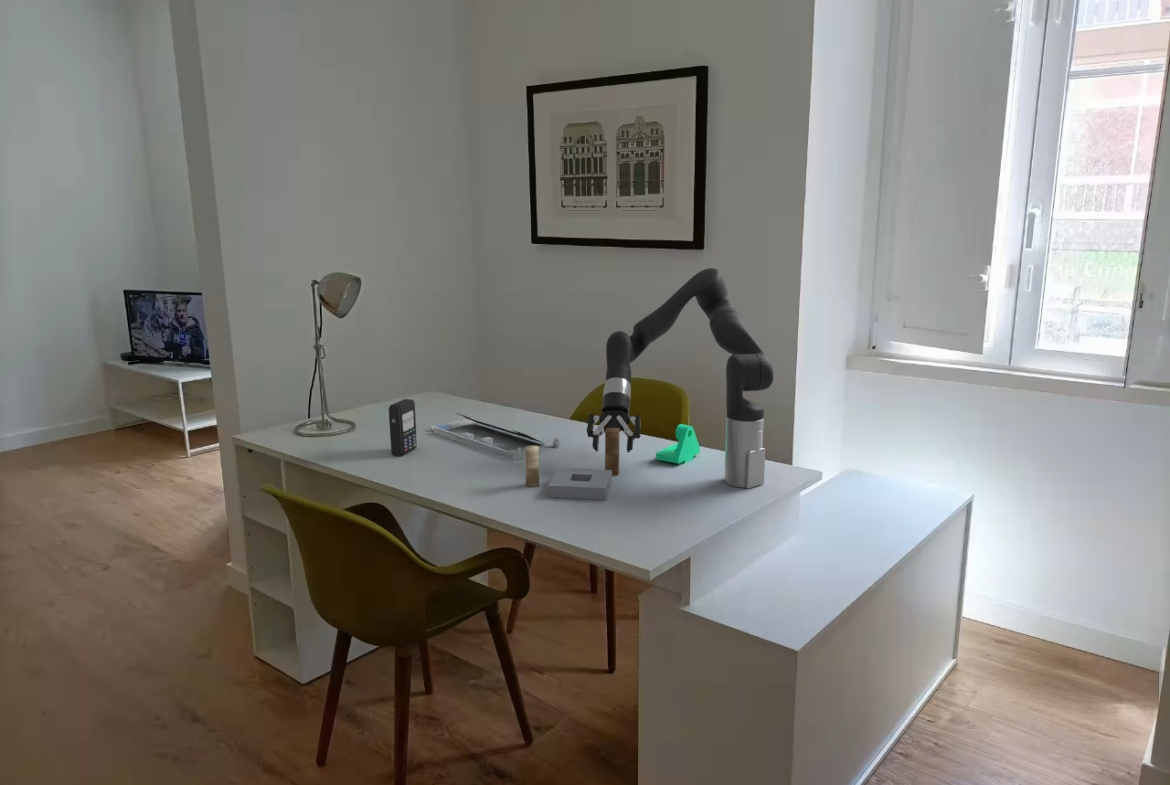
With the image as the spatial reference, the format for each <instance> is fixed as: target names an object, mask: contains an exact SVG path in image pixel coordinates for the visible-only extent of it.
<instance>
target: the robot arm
mask: <svg viewBox="0 0 1170 785" xmlns="http://www.w3.org/2000/svg"><path fill="white" fill-rule="evenodd" d="M694 297H695V299H696V302H697V305H699V307H700V309H701V310H702V311H703V312H704V314H705V315H706V317H707V318H708V320H709V328H710V331H711V333H712V336H713V337H714V340H715V342H716V344H717V345H718V346H719V347H721V348H720V349H723V350H724V351H725V352H727V353H729V354H731V355H730V356H729V357H728V358H727V362H726V367H725V378H726V379H725V382H726V383H725V384H726V388H725V389H726V397H725V398H726V418H725V419H726V420H725V421H726V422H725V423H726V424H725V425H726V426H725V448H724V449H725V450H724V451H725V453H724V481H723V482H724V483H726V484H727V485H729V486H731V487H736V488H737V487H738V488H744V489H751V488H755V487H758V486H761V485H764V483H765V470H766V469H765V468H766V464H765V463H766V448H765V447H763V438H764V422H765V420H764V418H765V417H764V416H765V408H764V407H763V406H762V405H761V404H760V403H757V402H753V401H751V400H748V399H746V398H744V394H743V392H756V391H757V392H758V391H765V390H767V389H769V388H770V387H771V386H772V384H773V382H774V381H773V380H774V369H773V366H772V362H771V360H770V358H769V356H768V354H767V353H766V352H765V351H764V350H763V348H762V347H761V346H760V345H759V343H758V342H757V341H756V339H755V337H754V335H752V332H751V330H750V327H748V324H747V322H746V320H745V319H744V317H743V315H742V314H741V313H740V312H739V310H737V309H736V308H734V307H733V306H732V303H731V299H730V296H729V291H728V289H727V286H726V283H725V281H724V278H723V276H722V273H721V272H720V270H718V269H716V268H712V267H710V268H709V267H708V268H705V269H703V270H700V271H699V272H697V273H696V274H695V275H693V276H692V277H691V278H689V279H688V281H687V282H685V283H684V284H683V285H682V286H681V287H680V288H679V289H677V290H676V291H675V292H674V293H673V294H672V296H670V297H669V298H668V299H667V300H666V301H665V302H664V303H663V304H662V305H661V306H659V307H658V308H656V309H655V310H654V311H652V312H651V313H649V314H648V315H646V316H645V317H644V318H642V319H641V320H639V321H638V322H637V323H635V324H634V325H633V329H632V330H633V331H632V333H631V335H630V334H628V333H626V332H625V331H623V330H617V331H614V332H612V333H611V334H610V335H609V337H608V339H607V341H606V348H605V349H606V350H605V351H606V353H605V354H606V356H605V357H606V373H605V374H606V375H605V381H604V388H603V393H602V405H601V413H600V415H594V413H589V416H588V422H587V427H586V433H587V434H586V435H587V437H588V438H592V449H593V450H594V451H595V452H598V451H599V444H600V437H601V436H602V435H605V430H606V428H619V433H621V432H622V433H624V435H625V436H626V437H627V442H626V452H627V453H630V452H631V451H633V448H634V447H633V446H634V441H635V439H640V438H641V417H640V416H641V415H640V414H636V415H635V416H630V409H631V408H630V407H631V397H632V396H631V395H632V394H631V393H632V390H631V389H632V388H631V383H632V369H631V365H630V364H631V363H632V362H634V361H635V360H637V358H638V357H639V356H640V355H641V354H642V353H643V352H644V351H645V350H646V349H647V348H648V346H649V345H650V344H651V343H653V342H654V341H656V340H657V339H659V338H661V337H662V336H663V335H665V334H666V333H667V332H669V330H671V328H672V327H673V326H674V324H676V323H675V322H676V321H677V319H678V318H679V316H680V314H681V313H682V311H683V310H684V308H685V306H686V305H687V304H688V303H689V302H690V300H692V299H693V298H694ZM598 421H599V422H600V423H599V425H598V427H597V428H596V429H595V430H594V427H595V425H596V424H597V422H598ZM630 422H631V423H632V425H634V426H635V431H634V432H633V431H632V430H631V429H630V427H629V425H630Z"/></svg>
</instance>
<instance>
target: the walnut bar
mask: <svg viewBox="0 0 1170 785" xmlns="http://www.w3.org/2000/svg"><path fill="white" fill-rule="evenodd" d="M604 439H605V440H604V441H605V442H604V448H605V449H604V451H605V452H604V453H605V454H604V455H605V456H604V458H605V459H604V470H612V476H619V473H620V432H619V428H606V430H605V433H604Z"/></svg>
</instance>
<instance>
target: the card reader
mask: <svg viewBox="0 0 1170 785" xmlns="http://www.w3.org/2000/svg"><path fill="white" fill-rule="evenodd" d="M388 422H389V423H388V424H389V435H390V450H391V455H393V457H403V456H405V455H407V454H408V453H410V452H413V451H414V450H415V449H416V448H417V445H418V444H417V442H418V441H417V425H416V424H417V420H416V403H415V400H414V399H412V398H411V399H409V398H404V399H402V400H400V401H397V402H394V403H392V404H390V406H389V407H388Z"/></svg>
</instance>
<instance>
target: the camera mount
mask: <svg viewBox="0 0 1170 785" xmlns="http://www.w3.org/2000/svg"><path fill="white" fill-rule="evenodd" d="M696 435H697V434H696V432H695V430H694V427H693V426H692V425H688V424H682V423H680V424H678V425H677V427H676V429H675V437H676V439H677V440H678V442H677V443H673V444H672V445H669V446H667V447H666V448H663V449H661V450H658V451H656V453H655V459H656V460H659V461H664V462H670V463H674V464H687V463H689V462H690V461H692V460H694V457H695V456H696V455H698V454H700V452H701V450H700V449H701V447H700V444H699V442H698V438H697V436H696Z"/></svg>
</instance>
